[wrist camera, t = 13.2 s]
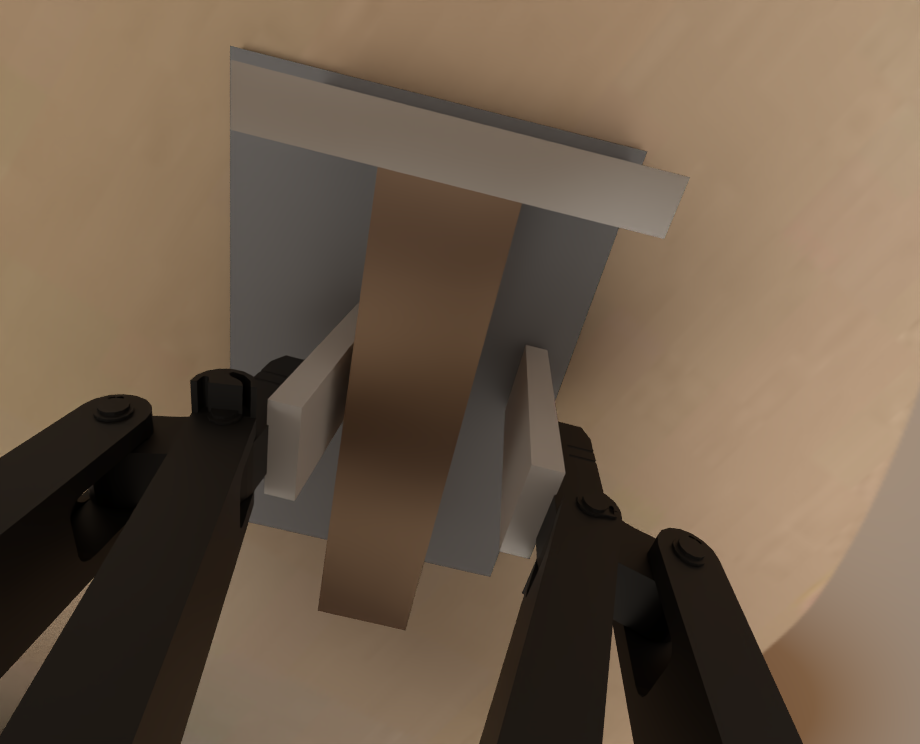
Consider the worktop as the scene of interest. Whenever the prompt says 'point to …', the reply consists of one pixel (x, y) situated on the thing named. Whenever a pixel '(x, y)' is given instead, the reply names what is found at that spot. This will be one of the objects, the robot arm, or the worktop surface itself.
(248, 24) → the worktop surface
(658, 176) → the scraper
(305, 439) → the robot arm
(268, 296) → the mat
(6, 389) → the worktop surface
